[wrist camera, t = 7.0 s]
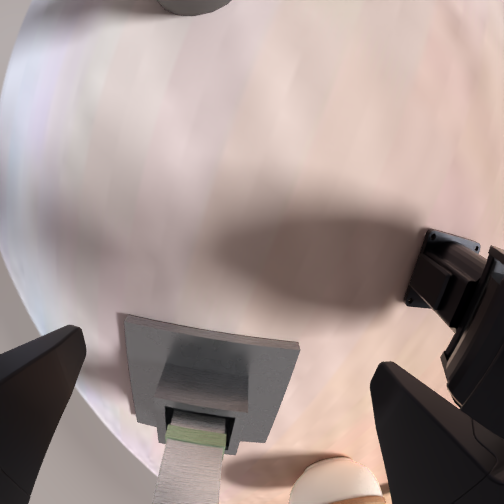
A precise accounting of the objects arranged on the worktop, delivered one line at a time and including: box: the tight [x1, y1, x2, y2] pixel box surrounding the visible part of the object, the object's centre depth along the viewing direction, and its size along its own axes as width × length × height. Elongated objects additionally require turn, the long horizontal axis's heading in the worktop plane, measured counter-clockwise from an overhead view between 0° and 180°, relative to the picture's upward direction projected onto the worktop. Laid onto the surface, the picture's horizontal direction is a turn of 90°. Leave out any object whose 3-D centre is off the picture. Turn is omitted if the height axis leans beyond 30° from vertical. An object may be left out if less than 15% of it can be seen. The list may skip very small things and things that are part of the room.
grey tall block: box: [152, 410, 226, 504], centre depth 15 cm, size 4×5×10 cm
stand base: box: [124, 315, 300, 455], centre depth 22 cm, size 14×14×5 cm
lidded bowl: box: [289, 457, 386, 504], centre depth 26 cm, size 13×13×11 cm
